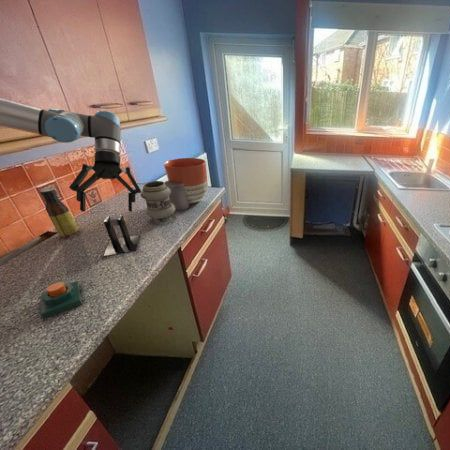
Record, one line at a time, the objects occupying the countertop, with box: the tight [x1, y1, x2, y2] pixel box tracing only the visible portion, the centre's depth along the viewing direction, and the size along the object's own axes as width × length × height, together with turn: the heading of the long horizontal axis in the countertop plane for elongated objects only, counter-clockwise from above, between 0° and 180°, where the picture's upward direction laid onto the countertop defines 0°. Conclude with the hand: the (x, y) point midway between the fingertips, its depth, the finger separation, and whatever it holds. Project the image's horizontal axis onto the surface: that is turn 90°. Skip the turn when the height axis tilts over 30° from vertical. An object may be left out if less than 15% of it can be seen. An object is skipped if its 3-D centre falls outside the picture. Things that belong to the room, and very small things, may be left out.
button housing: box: [39, 280, 83, 320], centre depth 70 cm, size 10×8×4 cm
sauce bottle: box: [39, 187, 80, 239], centre depth 96 cm, size 6×6×20 cm
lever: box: [110, 217, 130, 227], centre depth 95 cm, size 14×4×4 cm, turn 24°
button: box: [45, 281, 67, 297], centre depth 68 cm, size 4×4×2 cm
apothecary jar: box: [140, 180, 176, 223], centre depth 111 cm, size 12×12×18 cm
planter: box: [163, 157, 209, 205], centre depth 131 cm, size 20×20×21 cm
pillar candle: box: [164, 180, 191, 212], centre depth 125 cm, size 10×10×15 cm
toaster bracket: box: [103, 214, 141, 257], centre depth 92 cm, size 12×10×13 cm
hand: (107, 210), depth 88 cm, fingers open, 13 cm apart
